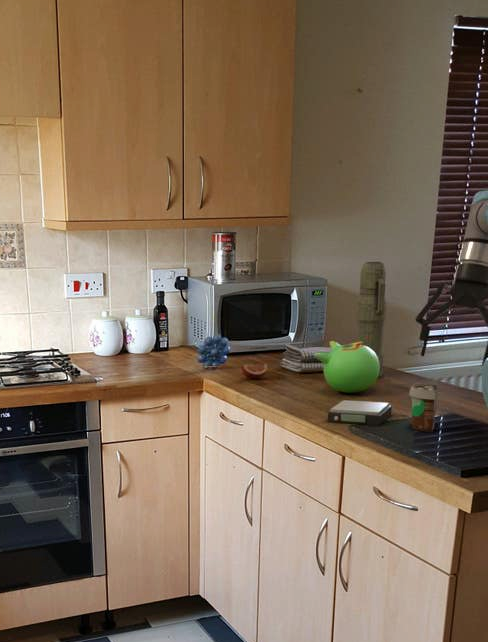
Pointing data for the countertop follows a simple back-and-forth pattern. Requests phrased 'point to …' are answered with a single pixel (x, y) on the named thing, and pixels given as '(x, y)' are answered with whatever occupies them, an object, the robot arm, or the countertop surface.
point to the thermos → (372, 308)
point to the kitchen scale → (360, 412)
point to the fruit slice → (254, 370)
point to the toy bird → (350, 367)
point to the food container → (424, 405)
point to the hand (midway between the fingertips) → (452, 361)
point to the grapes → (213, 351)
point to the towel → (303, 359)
